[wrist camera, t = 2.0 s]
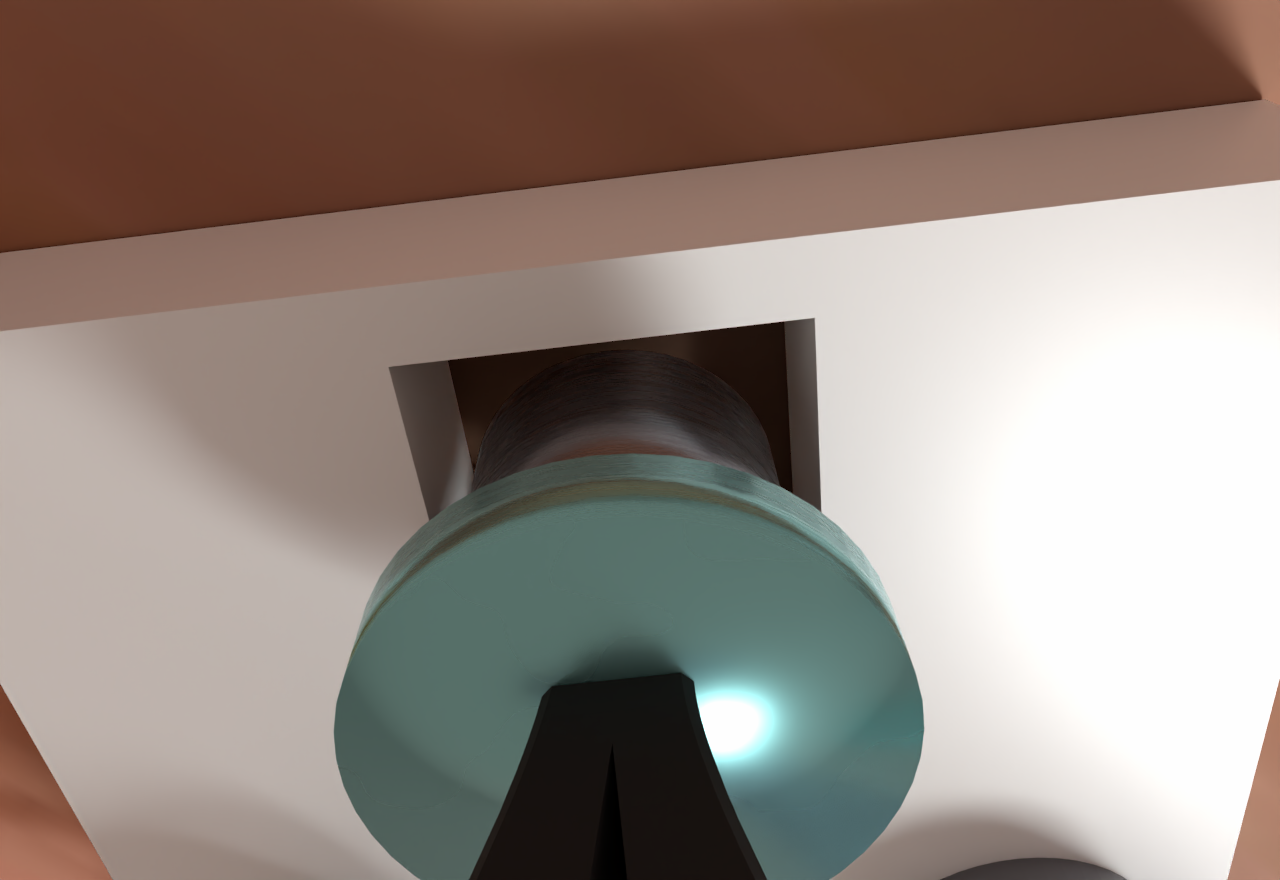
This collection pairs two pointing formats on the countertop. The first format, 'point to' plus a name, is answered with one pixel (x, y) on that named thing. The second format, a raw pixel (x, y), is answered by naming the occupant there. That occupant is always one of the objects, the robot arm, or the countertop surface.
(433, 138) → the countertop surface
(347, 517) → the instrument base
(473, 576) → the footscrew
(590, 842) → the robot arm
